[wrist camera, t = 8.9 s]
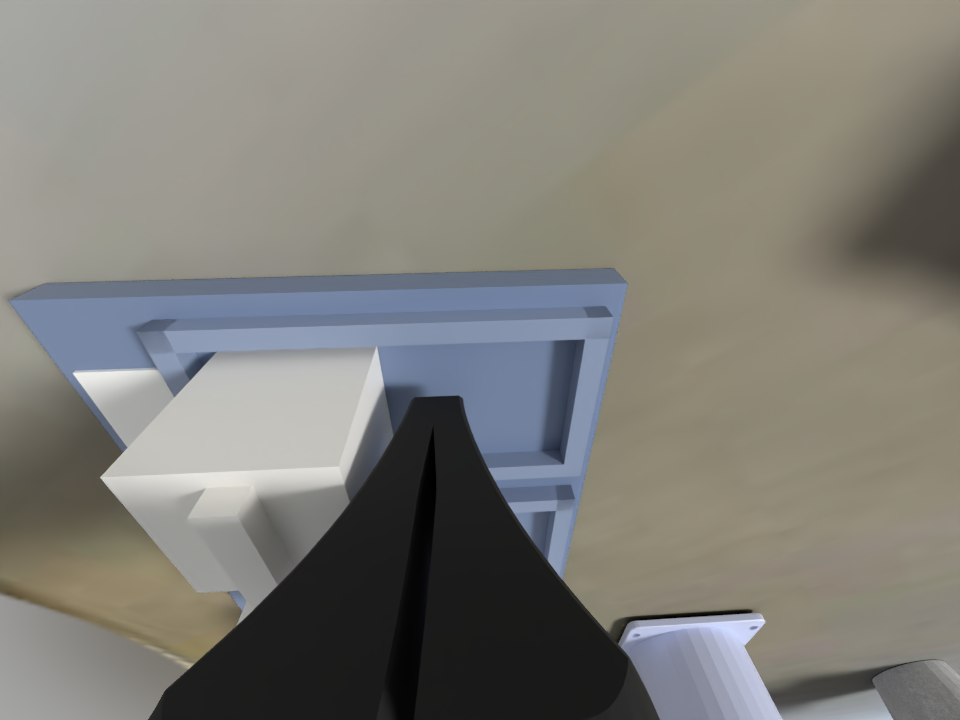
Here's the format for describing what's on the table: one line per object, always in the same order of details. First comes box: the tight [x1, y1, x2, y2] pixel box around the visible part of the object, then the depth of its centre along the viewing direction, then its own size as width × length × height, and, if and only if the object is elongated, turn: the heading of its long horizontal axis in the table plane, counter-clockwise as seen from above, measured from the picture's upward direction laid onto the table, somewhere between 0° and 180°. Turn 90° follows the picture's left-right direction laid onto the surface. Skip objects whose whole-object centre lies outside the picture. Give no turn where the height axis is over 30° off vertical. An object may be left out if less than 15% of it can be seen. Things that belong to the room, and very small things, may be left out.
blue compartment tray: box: [8, 268, 628, 611], centre depth 15 cm, size 21×14×2 cm
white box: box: [100, 346, 393, 609], centre depth 9 cm, size 4×4×5 cm
